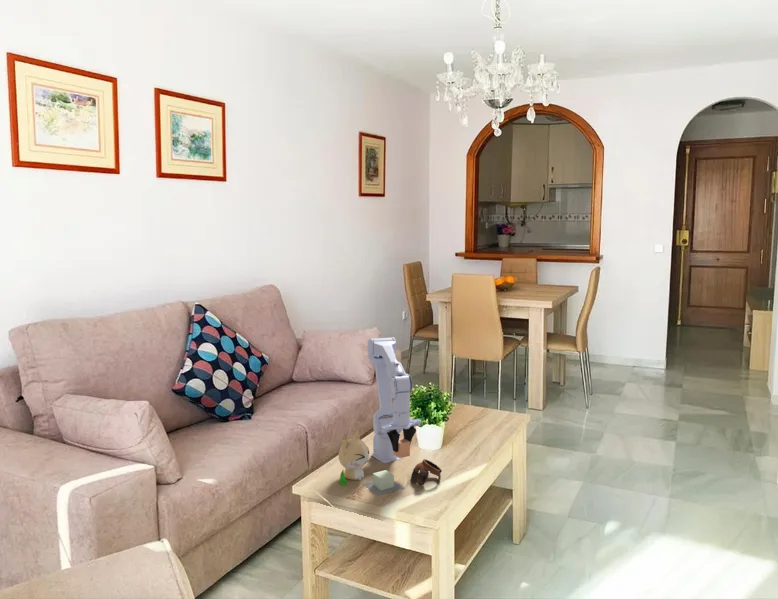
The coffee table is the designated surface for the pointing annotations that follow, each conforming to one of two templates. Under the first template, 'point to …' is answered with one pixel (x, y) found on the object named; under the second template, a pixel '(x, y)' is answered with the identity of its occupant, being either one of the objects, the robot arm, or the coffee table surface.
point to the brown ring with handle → (424, 472)
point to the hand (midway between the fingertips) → (401, 449)
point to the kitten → (353, 458)
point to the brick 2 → (403, 448)
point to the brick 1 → (383, 480)
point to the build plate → (380, 492)
